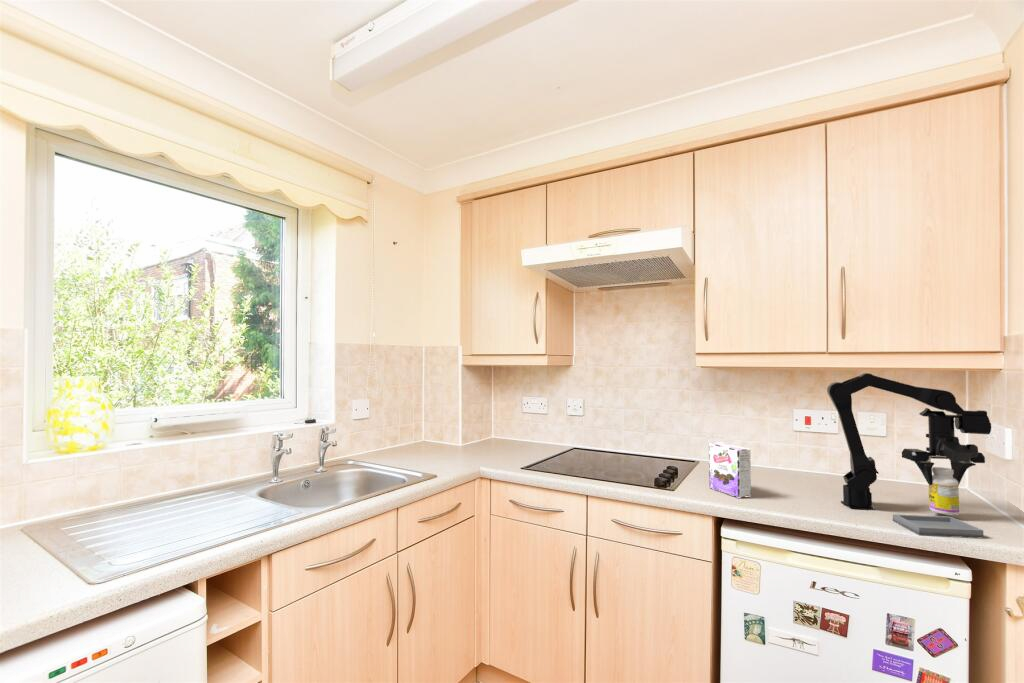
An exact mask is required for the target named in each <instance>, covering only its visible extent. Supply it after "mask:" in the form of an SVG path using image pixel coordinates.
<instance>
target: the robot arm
mask: <svg viewBox="0 0 1024 683" xmlns="http://www.w3.org/2000/svg"><path fill="white" fill-rule="evenodd" d="M867 387H871V388H875V389H879V390H881V391H882V390H883V391H886V392H890V393H894V394H896V395H901V396H905V397H907V398H911V399H913V400H915V401H918V402H920V403H922V404H923V405H924V404H925V405H927V406H928V407H931V408H935V409H937V410H931V409H930V408H928V407H925V408H924V409H923V411H921V412H919V414H918V415H920V416H922V417H927V418H928V421H927V422H928V423H927V424H928V433H925V438H928V443H929V444H928V447H926V448H925V450H922V449H918V448H904V449H902V451H901V458H903V459H906V460H909V461H912V462H914V463H915V464H916V466H917V467H918V469H919V471H920V472H921V473H922V476H923V477H924V479H925V481H926V483H927V484H928V485H929V484H930V485H932V475H933V472H932V468H933V467H934V465H935V462H933V461H931V459H933V460H935V459H936V460H937V459H940V460H944V459H945V460H949V461H950V469H953V472H954V474H953V478H955V479H956V480H957V481H958V485H960V483H961V481H962V479H963V477H964V475H965V473H966V471H967V470H968V469H969V468H971V467H973V466H976V464H985V463H986V457H985V456H984V454H983V453H982V452H979V447H978V446H977V445H976V444H974V443H973V444H970V443H969V444H961V443H960V440H959V437H958V436H956V434H955V430H959V431H960V433H962V434H969V435H970V434H973V435H975V434H976V435H990V434H991V432H992V423H991V421H990V417H989V416H988V412H987V410H979V409H978V410H965V409H963V408H962V407H961V406H960V405H959V404H958V403H957V398H956V396H955V395H954V394H953V393H952V392H951V391H948V390H943V389H938V388H929V387H921V386H914V385H910V384H907V383H903V382H899V381H895V380H892V379H888V378H885V377H880V376H876V375H874V374H872V373H868V372H865V373H861V374H859V375H858V376H856V377H853V378H850V379H848V380H843V381H842V382H839V381H834V382H832V383H829V385H828V386H827V388H826V391H827V392H826V393H827V395H828V397H829V398H830V401H831V403H832V405H833V406H834V408H835V410H836V412H837V414H838V417H839V421H840V424H841V427H842V430H843V434H844V437H845V438H844V439H845V440H846V444H847V447H848V451H849V454H850V455H849V462H850V464H849V465H850V471H849V472H847V473H846V474H844V475H843V476H842V477H843V480H844V483H846V484H842V493H843V494H842V497H843V500H841V501H840V503H841V504H843V505H844V506H846V507H848V508H850V509H853V510H855V509H857V510H874V507H873V499H872V498H873V497H872V496H873V494H872V492H871V488H870V486H871V485H872V484H875V482H876V481H877V480H878V476H877V474H880V473H879V471H878V470H877V468H876V460H875V459H874V458H873V457H872V456H868V457H867V454H866V453H865V449H864V446H863V442H862V438H861V436H860V433H859V430H858V427H857V423H856V419H855V416H854V412H853V407H852V406H853V405H852V404H853V403H852V402H853V400H852V399H853V398H852V394H855V393H858V392H859V391H861V390H863V389H865V388H867ZM944 411H946V412H947V413H952V414H946V413H945V412H944Z"/></svg>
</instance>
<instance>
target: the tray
mask: <svg viewBox="0 0 1024 683" xmlns="http://www.w3.org/2000/svg"><path fill="white" fill-rule="evenodd" d="M893 521H894V523H895V522H896V523H895V524H897V523H898V524H897V525H899V526H901V527H903V528H904V529H907V530H909V531H910V532H912V533H915V534H916V535H918V536H925V537H927V536H928V537H929V536H930V537H947V538H948V537H951V536H962V537H961V538H968V537H983V538H982V539H984V529H982V528H978V527H977V526H974V525H971V524H969V523H967V522H965V521H963V520H961V519H958V518H956V517H953V516H951V515H945V516H944V515H923V514H922V515H921V514H920V515H919V514H918V515H917V514H900V513H899V514H898V513H895V514H894V513H892V522H893ZM951 538H952V537H951Z"/></svg>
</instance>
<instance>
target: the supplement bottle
mask: <svg viewBox="0 0 1024 683" xmlns="http://www.w3.org/2000/svg"><path fill="white" fill-rule="evenodd" d="M953 474H954V472H953V469H951V467H941V466H932V485H930V484H928V504H929V505H928V506H929V507H928V508H929V510H930V511H932V512H933V513H936V514H939V515H940V514H941V515H943V516H944V515H945V516H957V515H959V514H960V493H959V490H960V489H959V485H960V484H959V485H958V481H957V480H956V479H955V478H953Z"/></svg>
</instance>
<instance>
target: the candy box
mask: <svg viewBox="0 0 1024 683" xmlns="http://www.w3.org/2000/svg"><path fill="white" fill-rule="evenodd" d="M751 465H752V464H751V448H747V447H743V446H738V445H733V444H729V443H724V442H721V441H719V442H710V443H708V466H709V467H708V468H709V470H708V474H709V477H708V478H709V480H708V481H709V483H708V484H709V488H710V487H711V488H714V489H717V490H720V491H723V492H725V493H728V494H731V495H734V496H736V497H745V496H751V497H752V492H751V491H752V484H751V481H752V480H751V479H752V476H751V474H752V473H751V472H752V471H751V470H752V469H751V468H752V467H751ZM711 488H710V489H711ZM725 493H724V494H725ZM728 494H727V495H728ZM731 495H730V496H731ZM736 497H735V498H736Z"/></svg>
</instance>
